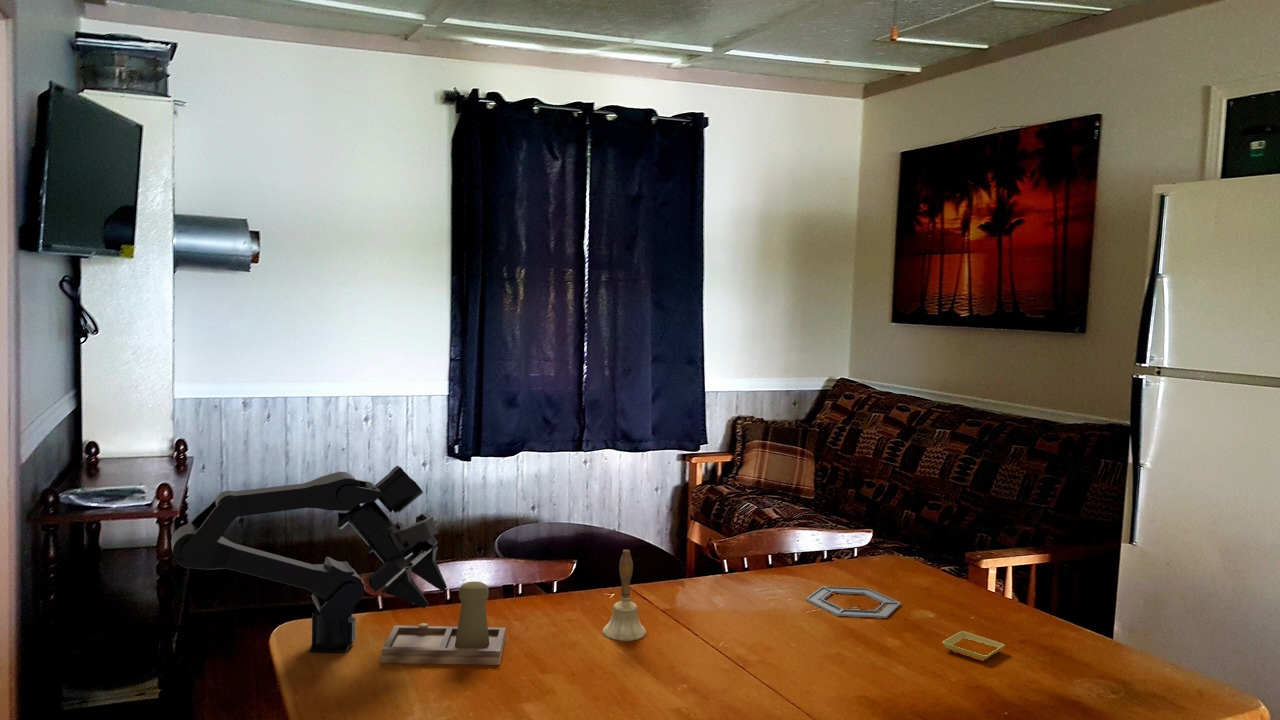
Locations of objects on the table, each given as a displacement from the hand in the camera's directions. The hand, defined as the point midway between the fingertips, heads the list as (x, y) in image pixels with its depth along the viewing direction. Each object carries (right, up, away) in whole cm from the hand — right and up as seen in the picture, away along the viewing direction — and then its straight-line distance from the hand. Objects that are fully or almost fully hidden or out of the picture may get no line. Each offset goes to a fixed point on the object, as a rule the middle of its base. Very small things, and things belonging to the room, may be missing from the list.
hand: (436, 597), depth 168 cm
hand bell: (+33, -10, +12) cm, 36 cm away
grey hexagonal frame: (+81, -10, +34) cm, 89 cm away
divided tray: (+2, -9, 0) cm, 9 cm away
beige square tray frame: (+98, -13, +10) cm, 100 cm away
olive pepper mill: (+6, -8, 0) cm, 11 cm away
